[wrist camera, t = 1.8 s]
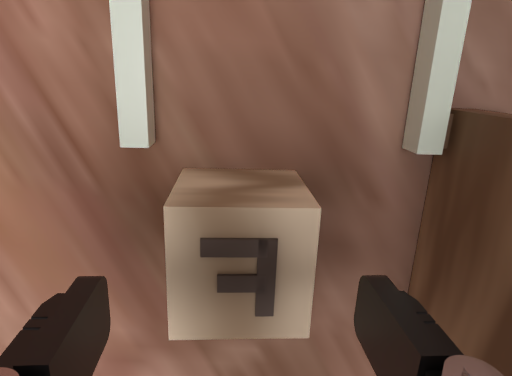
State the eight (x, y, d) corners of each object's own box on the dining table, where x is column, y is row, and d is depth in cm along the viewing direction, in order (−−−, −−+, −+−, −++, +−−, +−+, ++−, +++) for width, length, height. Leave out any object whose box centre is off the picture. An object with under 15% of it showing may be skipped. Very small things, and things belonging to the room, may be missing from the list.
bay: (479, -154, 14) (506, -179, 13) (425, 148, 18) (442, 154, 17) (107, -188, 13) (92, -220, 12) (129, 141, 17) (120, 147, 16)
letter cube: (295, 169, 18) (322, 210, 13) (288, 267, 20) (309, 340, 14) (183, 167, 18) (162, 208, 12) (185, 268, 19) (167, 343, 14)
